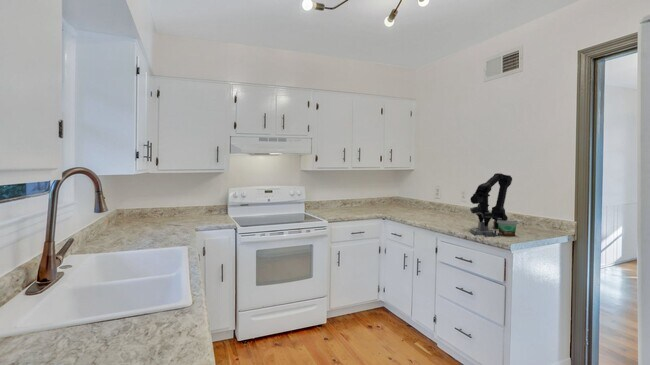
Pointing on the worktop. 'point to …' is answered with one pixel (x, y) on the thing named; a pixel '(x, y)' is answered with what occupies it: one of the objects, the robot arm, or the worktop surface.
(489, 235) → the clip
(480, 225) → the block
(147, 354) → the worktop surface
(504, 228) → the food container
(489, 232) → the holder
